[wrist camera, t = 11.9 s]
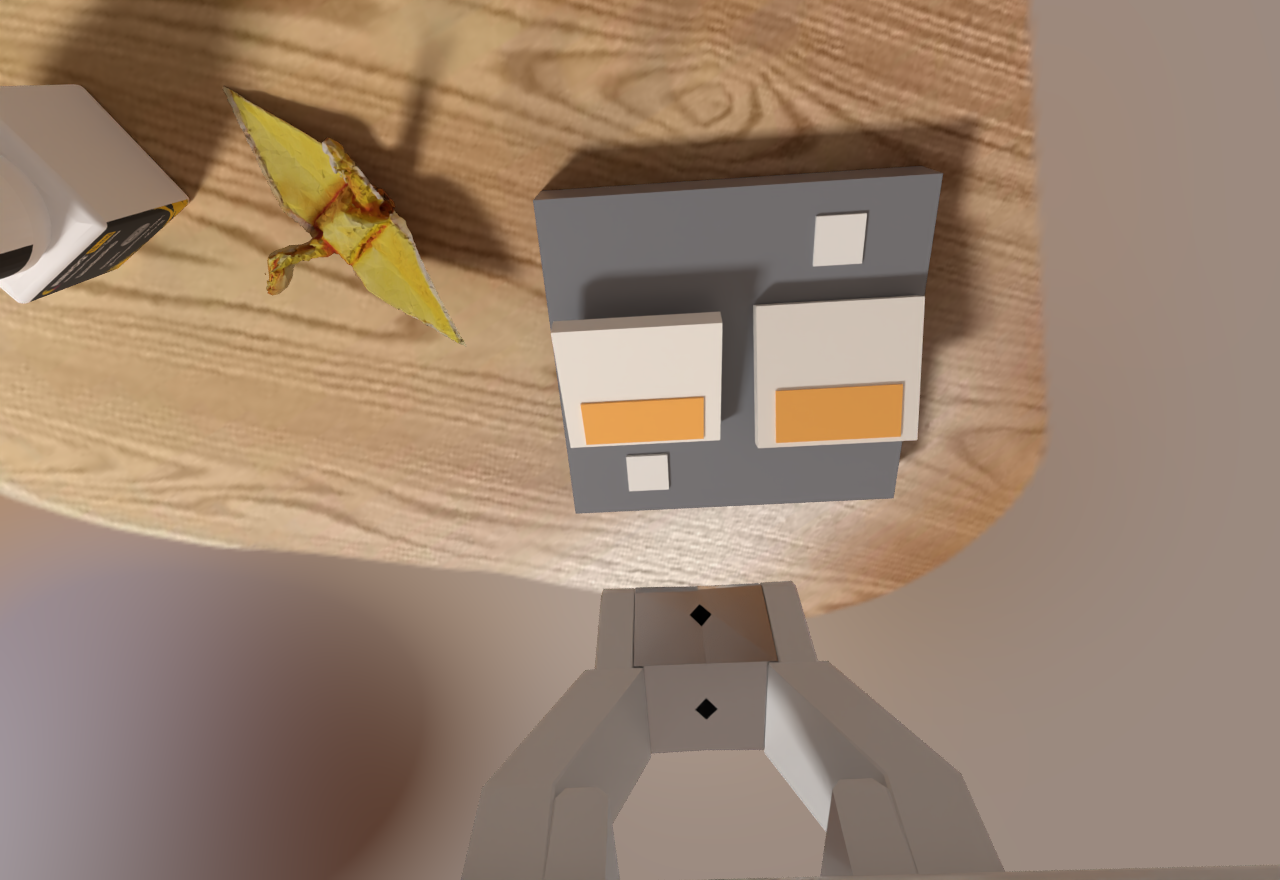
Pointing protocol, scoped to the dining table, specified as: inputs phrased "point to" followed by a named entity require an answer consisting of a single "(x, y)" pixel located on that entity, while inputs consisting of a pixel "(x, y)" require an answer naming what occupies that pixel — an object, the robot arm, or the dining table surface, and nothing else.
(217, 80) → the dining table surface
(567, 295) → the switch panel
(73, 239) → the medicine bottle
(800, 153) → the dining table surface
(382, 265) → the origami crane
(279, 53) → the dining table surface
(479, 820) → the robot arm
